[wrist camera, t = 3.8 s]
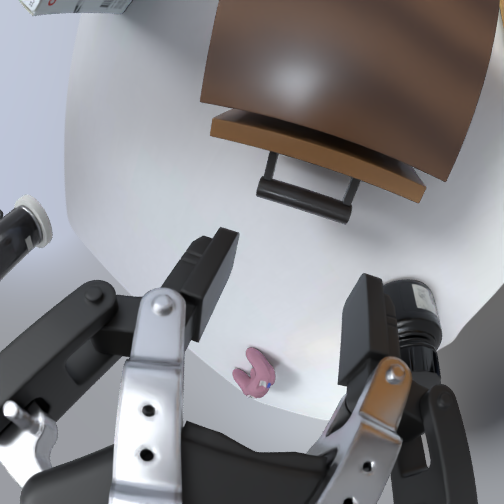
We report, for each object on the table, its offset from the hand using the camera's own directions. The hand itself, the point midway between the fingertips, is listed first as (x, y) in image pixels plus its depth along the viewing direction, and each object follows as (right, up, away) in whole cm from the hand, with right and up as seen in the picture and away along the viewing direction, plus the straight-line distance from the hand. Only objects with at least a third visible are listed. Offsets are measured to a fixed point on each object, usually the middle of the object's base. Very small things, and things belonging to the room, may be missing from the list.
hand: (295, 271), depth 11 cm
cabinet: (+6, +19, +6) cm, 21 cm away
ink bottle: (+17, -6, +21) cm, 28 cm away
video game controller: (-1, -18, +36) cm, 40 cm away
